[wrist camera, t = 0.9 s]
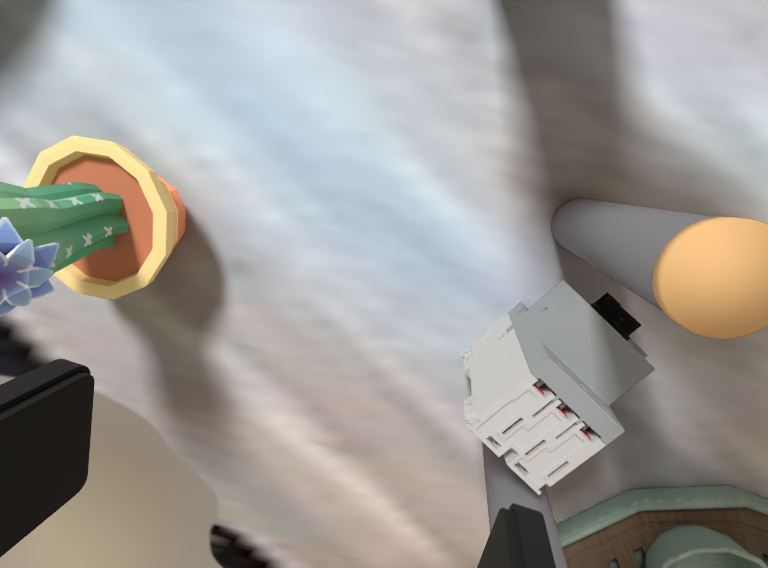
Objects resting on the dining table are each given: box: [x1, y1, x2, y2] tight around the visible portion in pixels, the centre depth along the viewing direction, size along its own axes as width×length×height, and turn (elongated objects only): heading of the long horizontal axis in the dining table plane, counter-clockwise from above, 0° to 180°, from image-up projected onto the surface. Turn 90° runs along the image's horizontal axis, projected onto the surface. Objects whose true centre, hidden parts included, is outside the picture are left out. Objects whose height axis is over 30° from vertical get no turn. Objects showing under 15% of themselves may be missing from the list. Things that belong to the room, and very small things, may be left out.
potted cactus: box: [0, 136, 186, 316], centre depth 38 cm, size 15×15×25 cm
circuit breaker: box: [463, 280, 655, 495], centre depth 39 cm, size 8×14×15 cm, turn 137°
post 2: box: [551, 198, 768, 339], centre depth 31 cm, size 5×5×25 cm
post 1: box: [482, 438, 568, 568], centre depth 37 cm, size 5×5×25 cm
